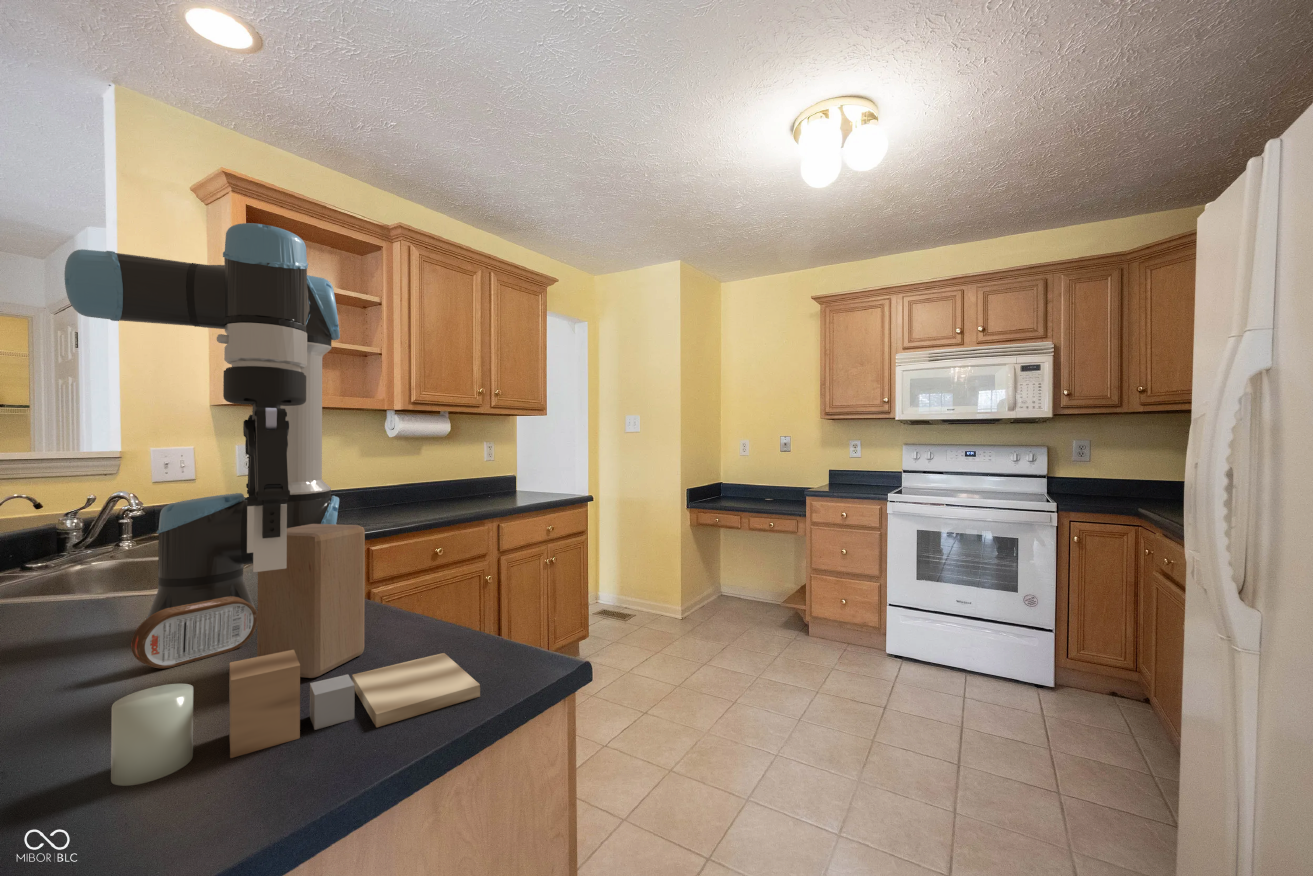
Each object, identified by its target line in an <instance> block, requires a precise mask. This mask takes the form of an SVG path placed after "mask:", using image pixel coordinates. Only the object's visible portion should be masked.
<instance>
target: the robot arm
mask: <svg viewBox="0 0 1313 876" xmlns="http://www.w3.org/2000/svg"><path fill="white" fill-rule="evenodd" d="M305 243H306V242H304V239H302V238H301V237H300V236H298V235H297V234H295V233H293V232H292V231H289V230H286V229H284V228H281V227H277V226H274V225H267V224H262V223H253V222H251V223H250V222H243V223H237V224H233V225H231V226H230V227H228V229H227V230H226V232H225V242H224V251H223V252H222V258H224V261H223V262H224V264H204V263H203V264H202V263H196V262H186V261H179V260H172V259H165V258H160V257H152V256H151V257H150V256H143V255H135V254H129V253H128V254H127V253H122V252H121V253H118V252H115V251H113V250H106V251H104V250H93V249H83V248H81V249H76V250H74V251H73V252H71V253H70V254H69V255H68V257H67V259H66V261H65V265H64V275H63V276H64V287H65V288H64V289H65V292H66V293H65V294H66V297H67V299H68V302H69V303H70V305H71V307H72V308H73V309H74V310H75V311H76V312H77V313H78V314H79V315H81V316H84V317H88V318H94V319H95V318H96V319H104V320H110V321H112V322H123V321H124V322H132V323H147V324H160V325H161V324H162V325H174V326H175V325H176V326H187V327H194V328H196V327H198V328H207V329H216V330H217V329H218V330H224V333H225V334H222V333H219V334H217V336H216V342H218V343H219V344H223V345H224V344H225V346H224V348H223V350H224V351H223V352H224V353H223V355H224V358H223V359H224V362H225V363H226V364H228V365H231V366H229V367H226V368H225V370H223V377H222V378H223V381H222V383H223V384H222V386H223V387H222V388H223V389H222V390H223V391H222V392H223V393H222V394H223V395H222V396H223V400H225V401H226V402H228V403H230V404H234V405H235V404H237V405H251V406H252V413H251V414H249V415H248V418H247V419H244V420H243V426H242V427H243V429H242V430H243V431H242V433H243V437H244V439H245V444H244V449H245V454H246V455H247V456H248V461H247V463H248V465H247V483H246V486H245V487H246V488H247V490H246V494H247V495H248V496H246V497H245V495H244V493H242V492H235V493H225V494H219V495H211V496H204V497H198V498H193V499H191V498H190V499H186V500H181V501H175V502H172V503H169V504H166V505H165V506H164V507H162V509H161V510H160V513H159V522H158V529H157V531H156V534H158V545H157V546H158V550H157V551H158V553H157V554H158V560H157V561H158V569H157V570H158V571H157V572H158V573H157V575H158V580H157V583H158V586H157V592H156V594H155V597H154V599H153V601H152V604H151V606H150V609H149V611H148V614H147V616H146V619H147V618H148V617H150V616H151V615H153V614H155V613H157V612H159V611H161V610H164V609H167V608H172V607H177V606H182V605H187V604H193V603H198V602H203V601H208V600H213V599H218V598H223V597H238V598H241V599H243V600H245V601H246V602H248V603H250V604H251V605H252V606H253V607H254V608H255V609H256V607H255V604H254V602H253V599H252V597H251V594H250V592H249V590H248V587H247V585H246V582H245V578H244V565H252V564H253V565H252V566H253V568H252V571H253V573H258V572H260V571H268V570H277V569H285V568H287V528H291V527H297V526H303V525H309V524H337V521H338V514H339V513H338V512H339V506H340V498H339V497H338V496H335V495H332V487H331V486H330V485H328V483H326V482H325V481H324V480H323V358H324V355H326V354H327V353H329V352H330V350H332V341H337V340H340V338H341V336H340V335H341V334H340V326H339V316H338V310H337V302H336V297H335V291H334V286H333V284H332V283H331V282H330V281H329V280H328V279H326V278H325V277H319V276H315V275H314V276H313V275H309V274H308V269H309V268H308V267H309V263H308V259H307V258H308V257H307V245H306V244H305ZM146 619H145V620H146Z"/></svg>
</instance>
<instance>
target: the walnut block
mask: <svg viewBox="0 0 1313 876" xmlns="http://www.w3.org/2000/svg"><path fill="white" fill-rule="evenodd" d="M228 675H229V678H228V679H229V681H228V682H229V683H228V684H229V687H228V689H229V694H228V695H229V697H228V698H229V699H228V702H229V703H228V704H229V706H228V707H229V708H228V709H229V711H228V712H229V713H228V715H229V716H228V726H229V727H228V728H229V729H228V738H229V758H230V759H233V758H237V757H239V756H244V755H247V754H250V753H253V752H257V751H261V750H265V749H268V748H271V747H274V746H279V745H281V744H285V743H288V742H292V741H294V740H299V739H300V738H301V731H300V730H301V677H300V664H299V661H298V659H297V656H296V654H295V651H294V650H289V651H284V652H279V653H274V654H269V655H264V656H259V657H257V656H256V657H251V658H244V659H241V660H235V661H231V662H229V673H228Z"/></svg>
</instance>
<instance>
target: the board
mask: <svg viewBox="0 0 1313 876" xmlns="http://www.w3.org/2000/svg"><path fill="white" fill-rule="evenodd" d="M351 680H352V682H353V683H354V685H355V694H356V695H357V696H358V698H359V700H360V702H361V703H362V705H363V707H364V710H366V712H367V714H368V716H369V717H370V719H371V721H372V723H373V724H374V726H375V728H380V727H383V726H386V725H390V724H394V723H396V722H399V721H403V720H407V719H410V718H414V717H416V716H420V715H423V714H426V713H429V712H433V711H436V710H440V709H443V708H446V707H449V706H450V707H451V706H452V705H457V704H459V703H460V704H461V703H464V702H466V701H467V702H468V701H470V700H473V699H477V698H480V697H481V684H480V683H479V682H478V681H476V680H475V679H474V678H473V677H472V676H471V675H470V674H469V673H468V672H467V671H465V670H464V669H463V668H462V667H461V666H460V665H459V664H458V663H456V662H455V661H454V660H453V659H452V658H450V656H449V655H447V654H446V653H445V652H443V653H437V654H434V655H433V654H432V655H429V656H425V657H420V658H417V659H412V660H408V661H403V662H400V663H395V664H391V665H387V666H383V667H379V668H374V669H372V670H365V671H363V672H358V673H354V674H351Z"/></svg>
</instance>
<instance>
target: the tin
mask: <svg viewBox="0 0 1313 876" xmlns="http://www.w3.org/2000/svg"><path fill="white" fill-rule="evenodd" d="M146 618H147V617H146ZM257 618H258V610H257V609H256V607H255V608H254V607H253V606H252V605H251V604H250V603H248V602H246V601H245V600H243V599H241V598H238V597H223V598H218V599H213V600H208V601H203V602H198V603H193V604H187V605H182V606H177V607H172V608H167V609H164V610H161V611H159V612H157V613H155V614H153V615H151V616H150V617H148V618H147V619H144V621H142V623H140V625H139V626H138V627H137V628H136V629H135V631H134V633H133V636H132V639H131V643H130V649H131V653H132V655H133V656H134V658H135V659H136V660H137V661H138V662H139V663H142V664H143V665H147V666H148V667H151V668H153V669H154V668H156V669H171V668H174V667H179V666H182V665H186V664H189V663H192V662H196V661H200V660H204V659H207V658H211V657H215V656H218V655H219V656H220V655H222V654H226V653H230V652H232V651H236V650H237V649H239V648H240V647H242V646H243V645H245V644H246V643H247V642H249V640H250V639H251V637H252V636H253V635H254V634H255V631H256V629H257Z"/></svg>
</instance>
